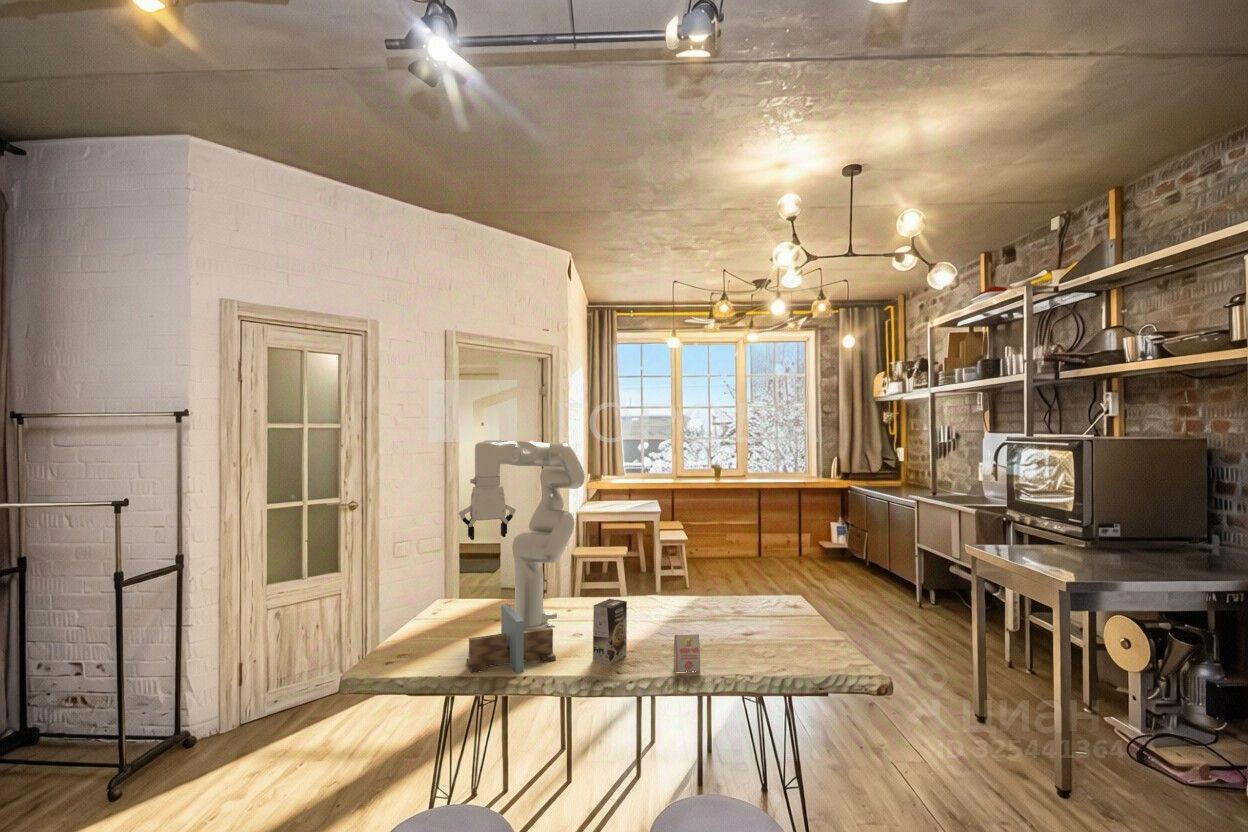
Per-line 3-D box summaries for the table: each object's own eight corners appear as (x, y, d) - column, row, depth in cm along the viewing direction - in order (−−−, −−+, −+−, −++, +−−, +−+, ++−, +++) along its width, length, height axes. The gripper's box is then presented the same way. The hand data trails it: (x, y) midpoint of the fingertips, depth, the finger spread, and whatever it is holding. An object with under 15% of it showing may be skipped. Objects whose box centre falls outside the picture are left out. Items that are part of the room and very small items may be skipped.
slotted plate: (523, 672, 168) (523, 620, 169) (516, 673, 168) (516, 621, 168) (507, 650, 185) (508, 604, 185) (501, 651, 184) (501, 604, 184)
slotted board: (547, 650, 185) (547, 624, 185) (555, 660, 177) (555, 632, 178) (466, 663, 175) (467, 634, 175) (471, 673, 168) (472, 643, 168)
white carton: (673, 668, 171) (673, 632, 172) (697, 667, 172) (697, 631, 172) (675, 673, 168) (675, 636, 168) (700, 672, 168) (700, 636, 169)
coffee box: (610, 665, 173) (610, 608, 174) (592, 661, 177) (592, 604, 177) (627, 655, 181) (627, 600, 182) (609, 651, 184) (609, 597, 185)
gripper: (461, 484, 181) (461, 542, 181) (518, 481, 188) (518, 537, 188) (456, 482, 188) (456, 538, 187) (511, 479, 195) (511, 533, 195)
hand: (487, 537), depth 188 cm, fingers open, 9 cm apart
